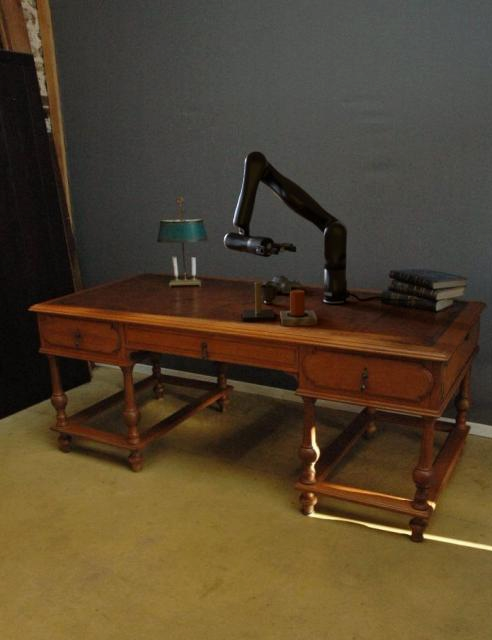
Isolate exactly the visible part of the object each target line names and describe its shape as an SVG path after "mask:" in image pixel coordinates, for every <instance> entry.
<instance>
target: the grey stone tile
mask: <svg viewBox="0 0 492 640" xmlns="http://www.w3.org/2000/svg"><path fill="white" fill-rule="evenodd" d="M289 312H290V310H280V311H279V315H280V317H279V318H280V322H281V325H282V327H294V326H297V327H298V326H299V327H300V326H318V317H317V315H316V313H315V311H314V309H305V312H307V313H308V316H305V317H289V316H287V313H289ZM301 316H302V315H301Z"/></svg>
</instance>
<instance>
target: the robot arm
mask: <svg viewBox="0 0 492 640" xmlns="http://www.w3.org/2000/svg"><path fill="white" fill-rule="evenodd" d="M260 183H262V184H263V185H265V186H266V187H267V188H269V189H270V191H271V192H273V194H274V195H275V196H276V197H277V198H278V199H279V200H280V201H281V202H282V203H283V204H284V205H285V206H286V207H287V208H288V209H290V210H291V211H292V212H293V213H295V214H296V215H298V216H299V217H301V218H302V219H304V220H306V221H307V222H309V223H311V224H312V225H314V226H315V227H316V228H317V229H318V230H319V231H320V232H322V234H323V299H322V300H323V301H322V302H323V303H324V304H328V305H342V304H347V299H350V297H354V298H355V299H356V300H357V301H359V302H365V301H370V300H377V299H382V297H381V296H382V295H381V296H380V295H379V296H378V295H377V296H376V295H375V296H370V297H365V298H360V297H359V296H358V295H357V294H354V293H351V292H350V291H349V289H348V280H347V260H348V259H347V258H348V255H347V246H348V245H347V244H348V243H347V241H348V234H349V233H348V231H349V230H348V227H347V225H346V223H344V222H343V221H341V220H340V219H338V218H337V217H336V216H333V214H331V213H330V212H328V211H327V210H326V209H325V208H323V206H322V205H321V204H320V203H319V202H317V200H316V199H315V198H314V197H312V196H311V194H309V192H307V191H306V189H304V188H303V187H301V186H300V185H299V184H298V183H296V182H295V181H293V180H292V179H290V178H288V177H287V176H285V175H284V174H282V173H281V172H279V171H278V169H277V168H275V166H273V165H272V164H271V162H270V161H269V160H268V159H267V157H266V155H265V154H264V153H263V152H261V151H257V150H256V151H252V152H251V151H250V153H248V154H247V156H246V157H245V159H244V172H243V180H242V186H241V191H240V194H239V197H238V201H237V205H236V208H235V211H234V215H233V216H234V217H233V221H232V224H233V226H234V227H236V228H237V229H238V231H239V232H235V231H230V232H228V233H227V234H225V236H224V238H223V244H224V246H225V248H227V250H230V251H235V252H239V253H245V254H252V255H254V256H258V257H262V258H263V257H264V258H269V257H271V256H272V255H274V256H278V255H279V254H283V253H285V252H288V253H289V252H291V253H297V246H296V245H294V243H289V242H276V241H274V240H273V238H271V237H268V236H261V235H252V234H250V233H251V222H252V219H253V214H254V210H255V204H256V198H257V194H258V193H257V192H258V188H259V185H260ZM382 300H383V299H382Z"/></svg>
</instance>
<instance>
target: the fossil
mask: <svg viewBox="0 0 492 640" xmlns="http://www.w3.org/2000/svg"><path fill="white" fill-rule="evenodd" d="M262 284H264V285H266V284H267V286H268V284H270V285H271V284H272V285H277V292H276V295H278V293H279V292H281V293H282V295H290V291H292V290H303V289H302V288H303V284H301V282H299V281H297V280H294V279H293V280H289V277H286V276H285V275H284V274H282V275H275V276H274V277H273V279H272V280H267V281H265V282H263V283H262Z"/></svg>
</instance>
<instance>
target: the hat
mask: <svg viewBox="0 0 492 640" xmlns="http://www.w3.org/2000/svg"><path fill="white" fill-rule="evenodd" d="M305 292H306V291H305V290H303V289H301V290H291V291H290V294H289V306H290V307H289V311H290V312H289V313H287V316H289V317H305V316H308V313H307V312H305V310H306V293H305ZM301 315H302V316H301Z"/></svg>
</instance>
